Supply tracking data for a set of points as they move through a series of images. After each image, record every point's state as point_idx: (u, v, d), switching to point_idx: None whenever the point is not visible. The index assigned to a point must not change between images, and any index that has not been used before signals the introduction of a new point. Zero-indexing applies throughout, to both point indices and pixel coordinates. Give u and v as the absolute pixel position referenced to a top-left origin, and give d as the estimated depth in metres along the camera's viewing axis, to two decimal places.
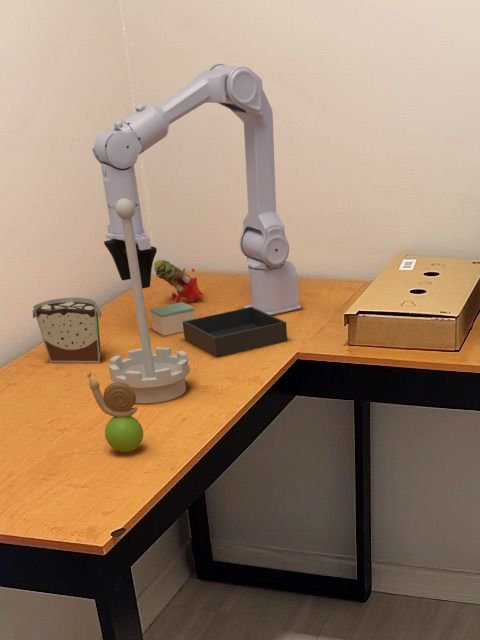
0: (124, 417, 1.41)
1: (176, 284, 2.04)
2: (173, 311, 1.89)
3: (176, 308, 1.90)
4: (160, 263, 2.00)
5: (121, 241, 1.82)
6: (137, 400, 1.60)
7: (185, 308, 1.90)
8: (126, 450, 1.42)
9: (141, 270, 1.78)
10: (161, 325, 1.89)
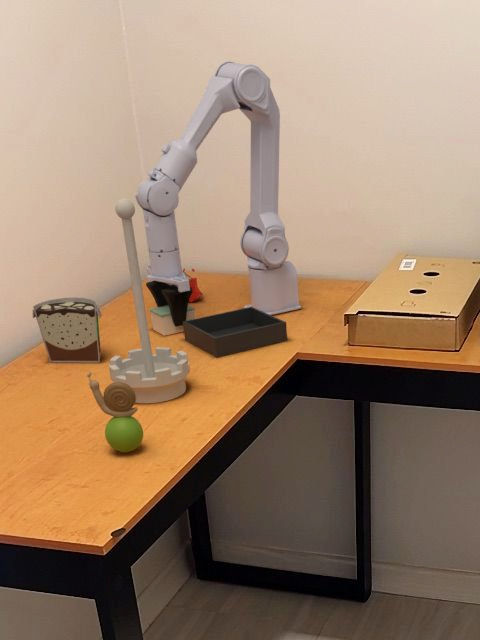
0: (124, 417, 1.41)
1: None
2: None
3: None
4: None
5: (162, 283, 1.90)
6: (137, 400, 1.60)
7: None
8: (126, 450, 1.42)
9: (177, 309, 1.88)
10: (161, 325, 1.89)
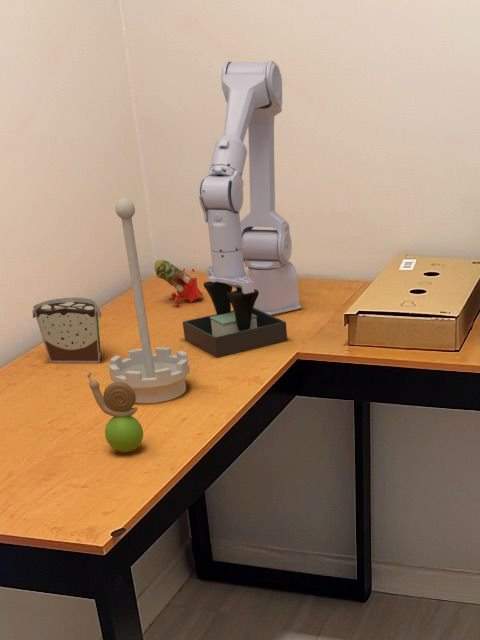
0: (124, 417, 1.41)
1: (176, 284, 2.04)
2: (235, 319, 1.81)
3: None
4: (160, 263, 2.00)
5: (220, 283, 1.83)
6: (137, 400, 1.60)
7: None
8: (126, 450, 1.42)
9: (242, 312, 1.79)
10: (223, 334, 1.81)
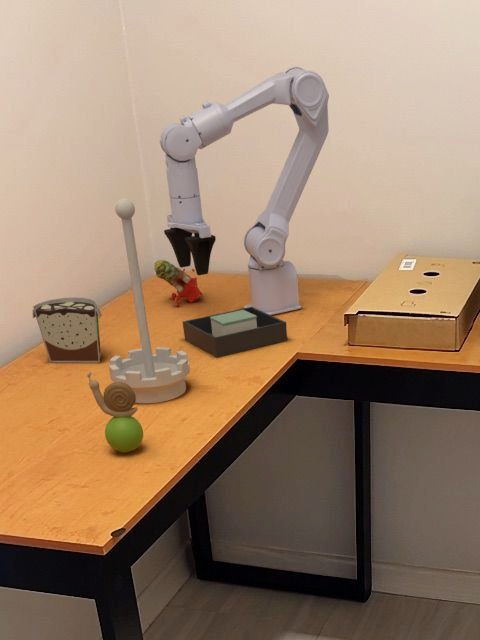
0: (124, 417, 1.41)
1: (176, 284, 2.04)
2: (235, 319, 1.81)
3: (238, 316, 1.83)
4: (160, 263, 2.00)
5: (180, 230, 1.91)
6: (137, 400, 1.60)
7: (247, 316, 1.83)
8: (126, 450, 1.42)
9: (200, 257, 1.88)
10: (223, 334, 1.81)
